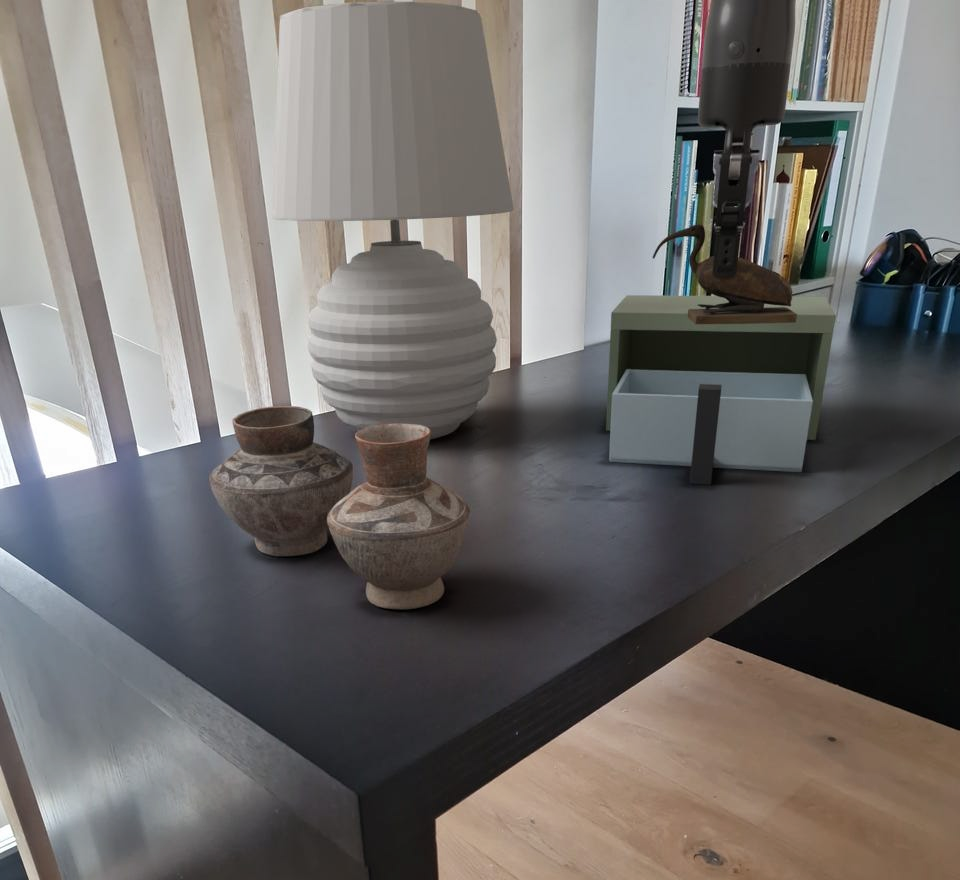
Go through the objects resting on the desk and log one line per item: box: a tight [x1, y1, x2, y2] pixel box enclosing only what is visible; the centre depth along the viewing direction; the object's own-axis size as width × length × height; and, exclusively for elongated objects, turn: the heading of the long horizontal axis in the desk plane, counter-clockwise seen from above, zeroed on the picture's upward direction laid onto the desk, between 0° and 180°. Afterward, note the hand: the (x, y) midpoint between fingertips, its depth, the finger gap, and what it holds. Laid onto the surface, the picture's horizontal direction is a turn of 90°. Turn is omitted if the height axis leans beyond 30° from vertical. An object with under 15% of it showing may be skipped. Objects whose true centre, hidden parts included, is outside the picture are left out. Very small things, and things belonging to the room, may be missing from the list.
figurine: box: [652, 224, 797, 324], centre depth 83 cm, size 14×4×9 cm, turn 87°
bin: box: [608, 369, 813, 486], centre depth 87 cm, size 18×19×9 cm
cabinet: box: [605, 294, 837, 441], centre depth 99 cm, size 14×23×13 cm, turn 75°
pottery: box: [208, 405, 471, 611], centre depth 64 cm, size 11×25×12 cm, turn 46°
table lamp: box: [272, 1, 514, 441], centre depth 92 cm, size 25×25×40 cm
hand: (724, 273), depth 83 cm, fingers closed on figurine, 4 cm apart
